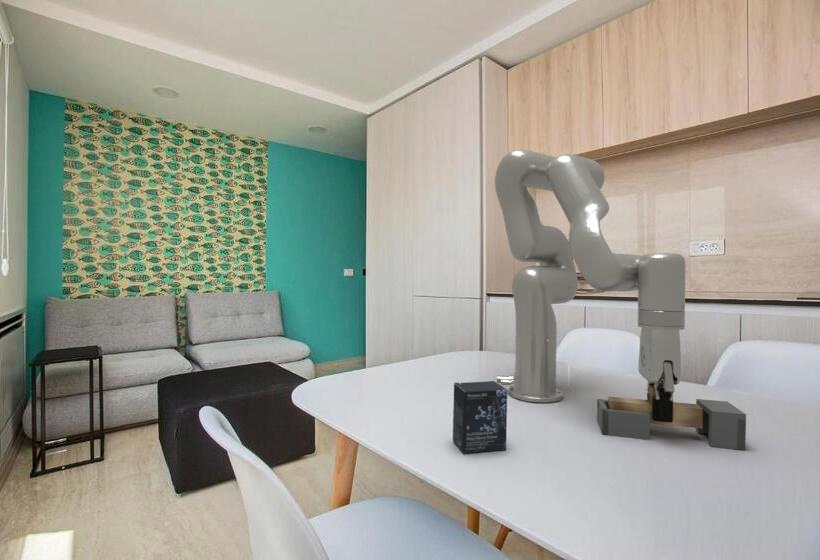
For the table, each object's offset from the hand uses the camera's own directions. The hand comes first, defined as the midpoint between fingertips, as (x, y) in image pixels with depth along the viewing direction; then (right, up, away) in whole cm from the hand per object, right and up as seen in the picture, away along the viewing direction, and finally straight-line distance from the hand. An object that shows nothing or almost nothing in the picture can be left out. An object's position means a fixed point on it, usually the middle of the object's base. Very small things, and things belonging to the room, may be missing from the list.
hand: (659, 416), depth 78 cm
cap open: (-6, -3, +2) cm, 7 cm away
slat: (-1, -1, 0) cm, 1 cm away
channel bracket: (+9, -3, -3) cm, 10 cm away
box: (-35, -3, -6) cm, 35 cm away
